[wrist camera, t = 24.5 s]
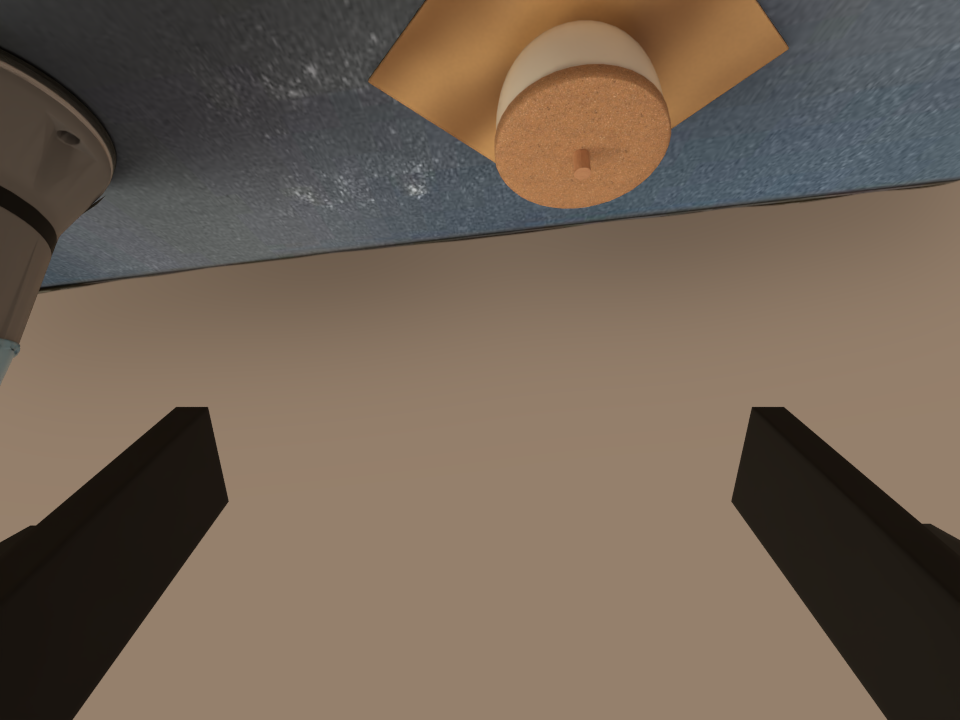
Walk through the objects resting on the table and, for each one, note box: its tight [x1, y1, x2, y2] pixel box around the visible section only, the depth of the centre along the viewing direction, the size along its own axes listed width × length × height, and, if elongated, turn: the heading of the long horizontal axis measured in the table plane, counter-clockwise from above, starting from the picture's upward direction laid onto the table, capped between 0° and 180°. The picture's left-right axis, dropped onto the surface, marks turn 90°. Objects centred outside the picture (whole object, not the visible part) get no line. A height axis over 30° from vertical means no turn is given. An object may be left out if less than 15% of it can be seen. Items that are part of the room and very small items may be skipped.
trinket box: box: [494, 20, 671, 208], centre depth 33 cm, size 11×11×9 cm
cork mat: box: [368, 0, 789, 163], centre depth 35 cm, size 20×20×1 cm
